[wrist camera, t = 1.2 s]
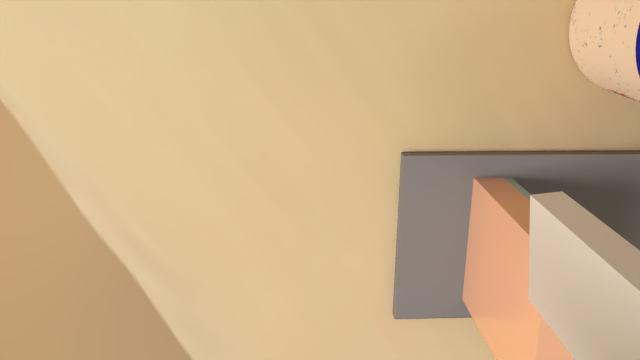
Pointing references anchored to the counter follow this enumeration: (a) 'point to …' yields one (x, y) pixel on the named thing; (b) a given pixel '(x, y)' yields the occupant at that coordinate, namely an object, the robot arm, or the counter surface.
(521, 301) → the peach box
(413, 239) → the mat
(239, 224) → the counter surface
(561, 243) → the robot arm
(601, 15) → the teacup with lid
